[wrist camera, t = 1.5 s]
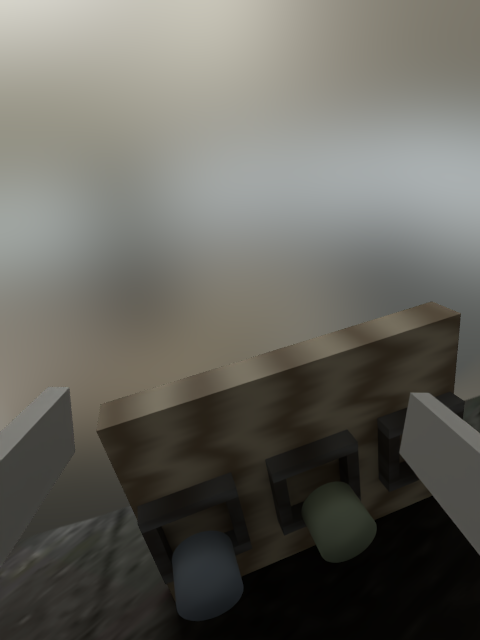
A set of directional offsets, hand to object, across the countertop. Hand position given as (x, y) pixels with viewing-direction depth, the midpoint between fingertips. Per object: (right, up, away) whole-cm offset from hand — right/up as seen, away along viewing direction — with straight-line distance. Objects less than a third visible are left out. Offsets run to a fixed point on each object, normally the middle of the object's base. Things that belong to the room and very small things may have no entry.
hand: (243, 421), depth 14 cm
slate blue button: (-2, -15, +11) cm, 19 cm away
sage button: (+7, -13, +13) cm, 20 cm away
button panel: (+7, -17, +21) cm, 28 cm away
